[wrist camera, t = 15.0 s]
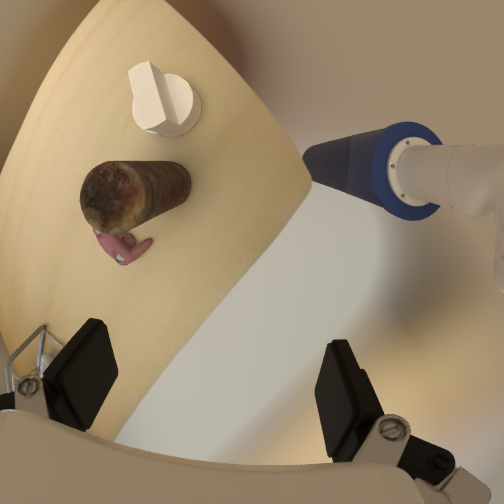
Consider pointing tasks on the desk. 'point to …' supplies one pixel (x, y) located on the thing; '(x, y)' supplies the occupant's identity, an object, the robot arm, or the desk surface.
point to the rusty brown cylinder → (131, 193)
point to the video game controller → (121, 247)
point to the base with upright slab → (163, 101)
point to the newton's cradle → (45, 358)
